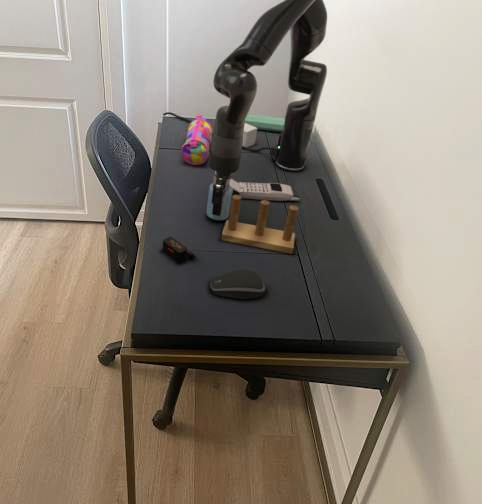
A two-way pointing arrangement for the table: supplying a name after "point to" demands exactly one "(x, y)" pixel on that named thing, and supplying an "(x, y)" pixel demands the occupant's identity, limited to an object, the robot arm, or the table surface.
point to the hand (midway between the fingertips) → (218, 208)
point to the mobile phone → (263, 191)
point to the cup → (225, 204)
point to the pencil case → (197, 141)
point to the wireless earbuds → (176, 250)
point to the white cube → (249, 135)
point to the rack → (260, 229)
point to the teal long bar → (265, 122)
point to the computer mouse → (238, 285)
